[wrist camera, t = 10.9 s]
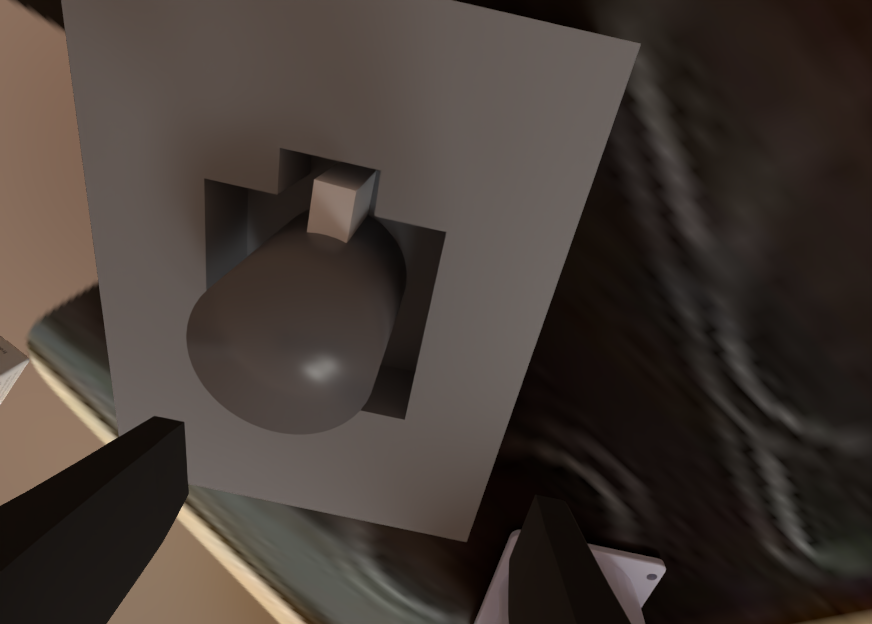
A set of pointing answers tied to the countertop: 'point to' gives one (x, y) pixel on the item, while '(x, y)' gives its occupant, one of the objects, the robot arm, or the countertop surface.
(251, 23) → the foam packaging insert
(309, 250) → the dark grey rounded piece
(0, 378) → the ink box
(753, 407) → the countertop surface
